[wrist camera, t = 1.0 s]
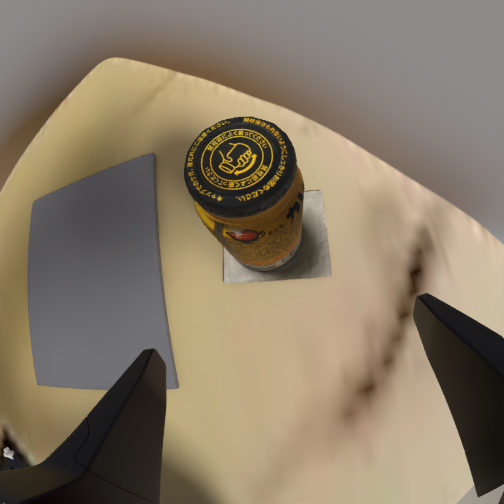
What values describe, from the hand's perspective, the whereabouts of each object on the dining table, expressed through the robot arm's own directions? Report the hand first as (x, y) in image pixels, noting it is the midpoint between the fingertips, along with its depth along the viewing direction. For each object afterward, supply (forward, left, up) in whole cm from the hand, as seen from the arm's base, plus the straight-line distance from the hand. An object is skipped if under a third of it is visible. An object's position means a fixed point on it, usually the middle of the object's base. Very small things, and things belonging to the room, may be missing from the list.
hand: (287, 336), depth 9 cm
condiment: (+7, 0, -14) cm, 16 cm away
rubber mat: (+7, +19, -13) cm, 24 cm away
